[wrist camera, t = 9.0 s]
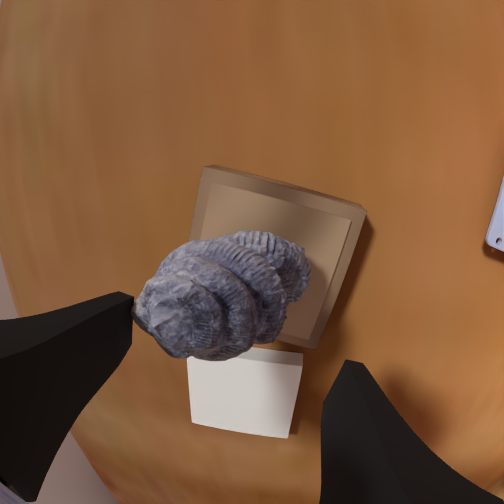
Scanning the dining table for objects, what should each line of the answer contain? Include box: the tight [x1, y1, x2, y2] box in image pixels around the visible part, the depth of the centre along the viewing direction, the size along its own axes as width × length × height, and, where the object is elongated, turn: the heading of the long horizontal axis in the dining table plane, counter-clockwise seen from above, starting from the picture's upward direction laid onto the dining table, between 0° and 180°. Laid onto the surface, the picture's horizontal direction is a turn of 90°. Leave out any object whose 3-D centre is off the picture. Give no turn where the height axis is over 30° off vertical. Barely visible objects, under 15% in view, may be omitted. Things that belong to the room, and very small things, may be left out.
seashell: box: [130, 230, 312, 361], centre depth 13 cm, size 5×5×10 cm
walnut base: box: [189, 165, 367, 350], centre depth 19 cm, size 9×9×2 cm
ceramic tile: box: [187, 347, 303, 438], centre depth 23 cm, size 8×8×2 cm
